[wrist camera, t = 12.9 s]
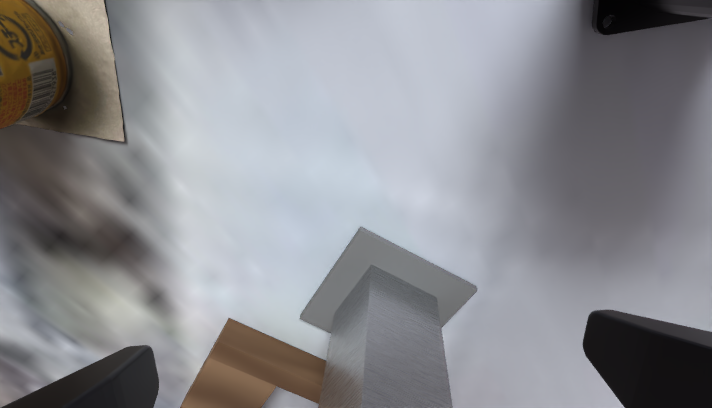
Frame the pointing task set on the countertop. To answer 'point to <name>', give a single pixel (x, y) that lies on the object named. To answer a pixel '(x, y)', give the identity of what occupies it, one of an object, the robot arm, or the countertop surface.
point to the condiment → (58, 68)
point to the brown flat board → (253, 371)
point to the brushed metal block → (386, 348)
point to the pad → (394, 261)
